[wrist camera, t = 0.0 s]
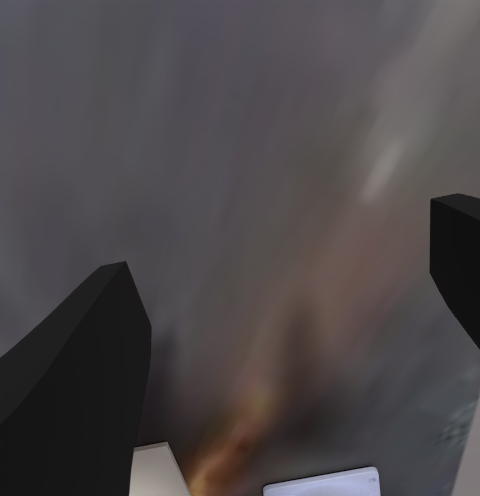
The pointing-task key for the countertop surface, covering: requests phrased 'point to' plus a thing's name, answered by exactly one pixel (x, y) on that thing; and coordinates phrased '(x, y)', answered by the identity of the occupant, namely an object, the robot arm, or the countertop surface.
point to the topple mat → (156, 472)
